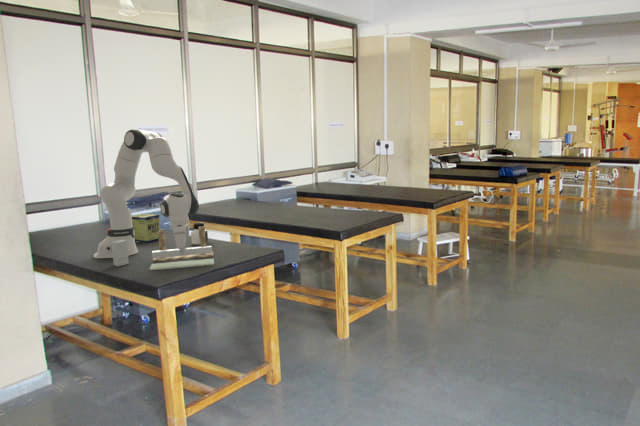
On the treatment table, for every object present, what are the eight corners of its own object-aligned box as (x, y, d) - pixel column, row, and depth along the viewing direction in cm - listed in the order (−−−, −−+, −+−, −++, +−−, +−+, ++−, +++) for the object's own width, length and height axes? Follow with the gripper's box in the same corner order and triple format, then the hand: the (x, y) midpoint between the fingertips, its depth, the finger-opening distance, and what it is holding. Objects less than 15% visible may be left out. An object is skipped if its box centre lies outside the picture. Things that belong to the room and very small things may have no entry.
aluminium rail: (152, 258, 245) (152, 252, 244) (153, 256, 248) (152, 250, 247) (212, 253, 251) (211, 247, 250) (212, 251, 254) (211, 245, 253)
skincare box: (124, 262, 258) (122, 239, 256) (129, 264, 255) (127, 240, 253) (113, 265, 253) (110, 241, 251) (117, 266, 250) (115, 242, 248)
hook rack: (153, 261, 258) (150, 232, 256) (154, 257, 266) (151, 229, 264) (213, 256, 265) (211, 228, 262) (213, 252, 272) (211, 225, 270)
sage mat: (149, 270, 242) (149, 269, 242) (151, 265, 252) (151, 263, 251) (214, 264, 248) (214, 263, 248) (213, 259, 258) (213, 258, 258)
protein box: (148, 243, 302) (146, 217, 299) (130, 241, 310) (127, 216, 307) (161, 239, 311) (159, 214, 308) (144, 237, 319) (141, 213, 316)
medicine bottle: (203, 244, 294) (201, 224, 292) (191, 244, 295) (190, 224, 293) (208, 241, 301) (206, 221, 299) (197, 241, 302) (195, 221, 300)
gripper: (174, 222, 256) (176, 249, 258) (172, 230, 237) (174, 259, 239) (187, 221, 258) (189, 248, 260) (186, 229, 238) (188, 258, 240)
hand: (182, 253), depth 249 cm, fingers closed on aluminium rail, 3 cm apart
